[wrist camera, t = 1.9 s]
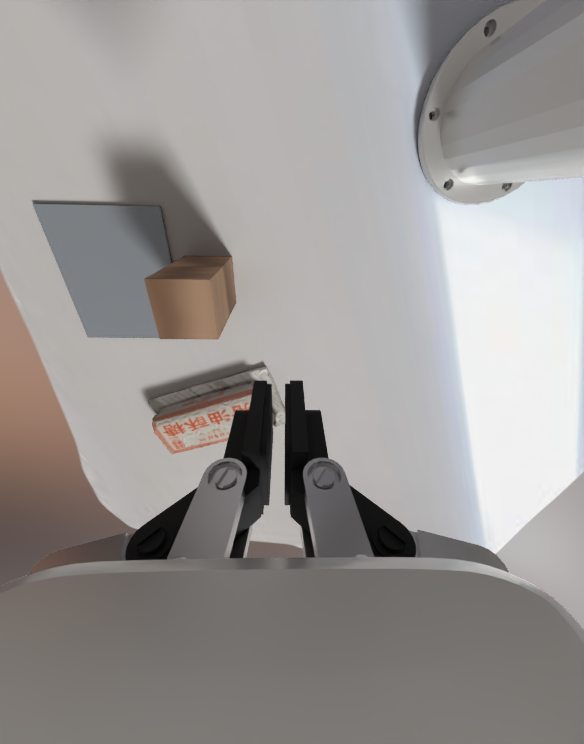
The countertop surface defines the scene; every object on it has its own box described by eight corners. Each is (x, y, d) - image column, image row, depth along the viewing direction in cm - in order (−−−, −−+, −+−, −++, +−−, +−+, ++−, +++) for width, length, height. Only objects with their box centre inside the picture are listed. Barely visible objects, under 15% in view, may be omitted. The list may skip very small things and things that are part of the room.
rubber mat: (160, 206, 27) (159, 206, 27) (187, 337, 34) (186, 338, 34) (34, 203, 27) (32, 203, 26) (89, 336, 34) (87, 337, 34)
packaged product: (175, 467, 41) (135, 419, 36) (185, 442, 45) (150, 396, 40) (290, 439, 38) (264, 382, 33) (289, 415, 42) (267, 362, 37)
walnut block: (231, 256, 29) (210, 279, 21) (236, 302, 32) (218, 339, 24) (184, 255, 29) (143, 278, 21) (193, 301, 32) (159, 338, 24)
